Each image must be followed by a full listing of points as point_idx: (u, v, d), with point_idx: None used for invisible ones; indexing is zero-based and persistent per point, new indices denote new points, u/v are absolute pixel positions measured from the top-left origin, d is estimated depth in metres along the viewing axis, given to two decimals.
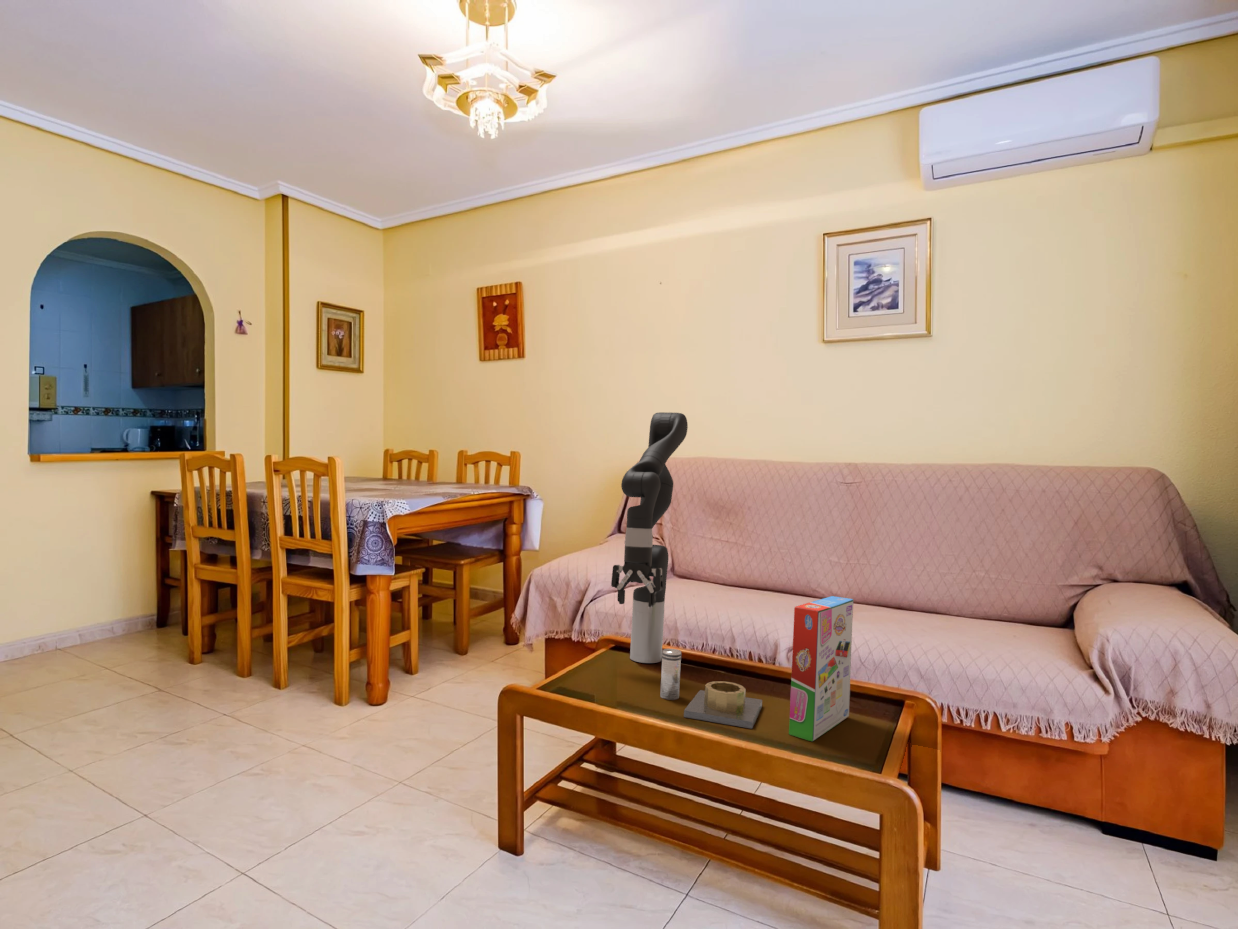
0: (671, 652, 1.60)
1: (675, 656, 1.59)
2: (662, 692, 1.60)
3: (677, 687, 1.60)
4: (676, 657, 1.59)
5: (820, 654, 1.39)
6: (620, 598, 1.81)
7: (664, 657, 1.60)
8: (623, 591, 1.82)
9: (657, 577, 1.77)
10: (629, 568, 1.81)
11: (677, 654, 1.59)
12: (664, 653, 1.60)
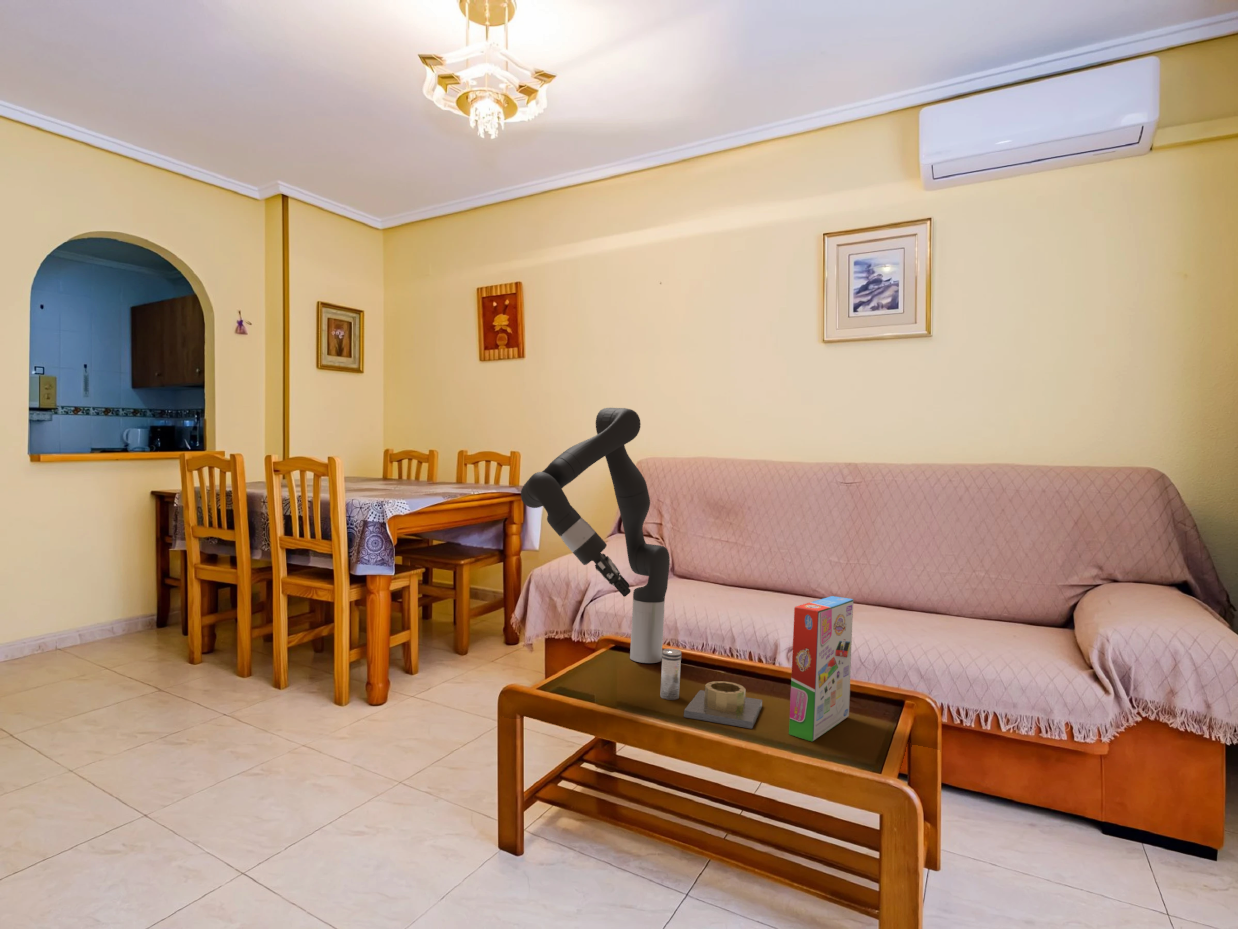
0: (671, 652, 1.60)
1: (675, 656, 1.59)
2: (662, 692, 1.60)
3: (677, 687, 1.60)
4: (676, 657, 1.59)
5: (820, 654, 1.39)
6: None
7: (664, 657, 1.60)
8: None
9: (601, 573, 1.55)
10: None
11: (677, 654, 1.59)
12: (664, 653, 1.60)
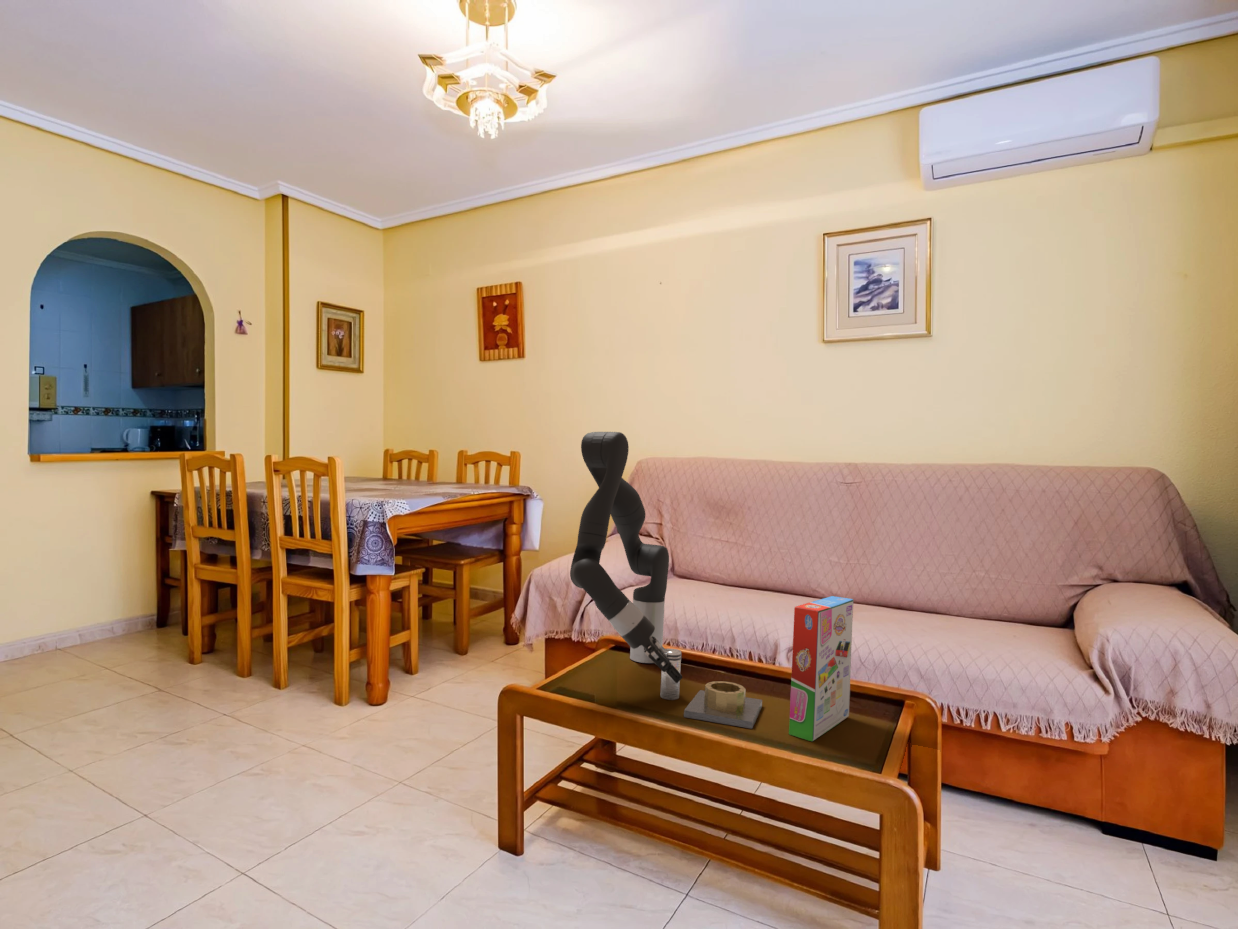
0: (671, 652, 1.60)
1: (675, 656, 1.59)
2: (662, 692, 1.60)
3: (677, 687, 1.60)
4: (676, 657, 1.59)
5: (820, 654, 1.39)
6: None
7: None
8: None
9: (654, 662, 1.56)
10: None
11: (677, 654, 1.59)
12: None
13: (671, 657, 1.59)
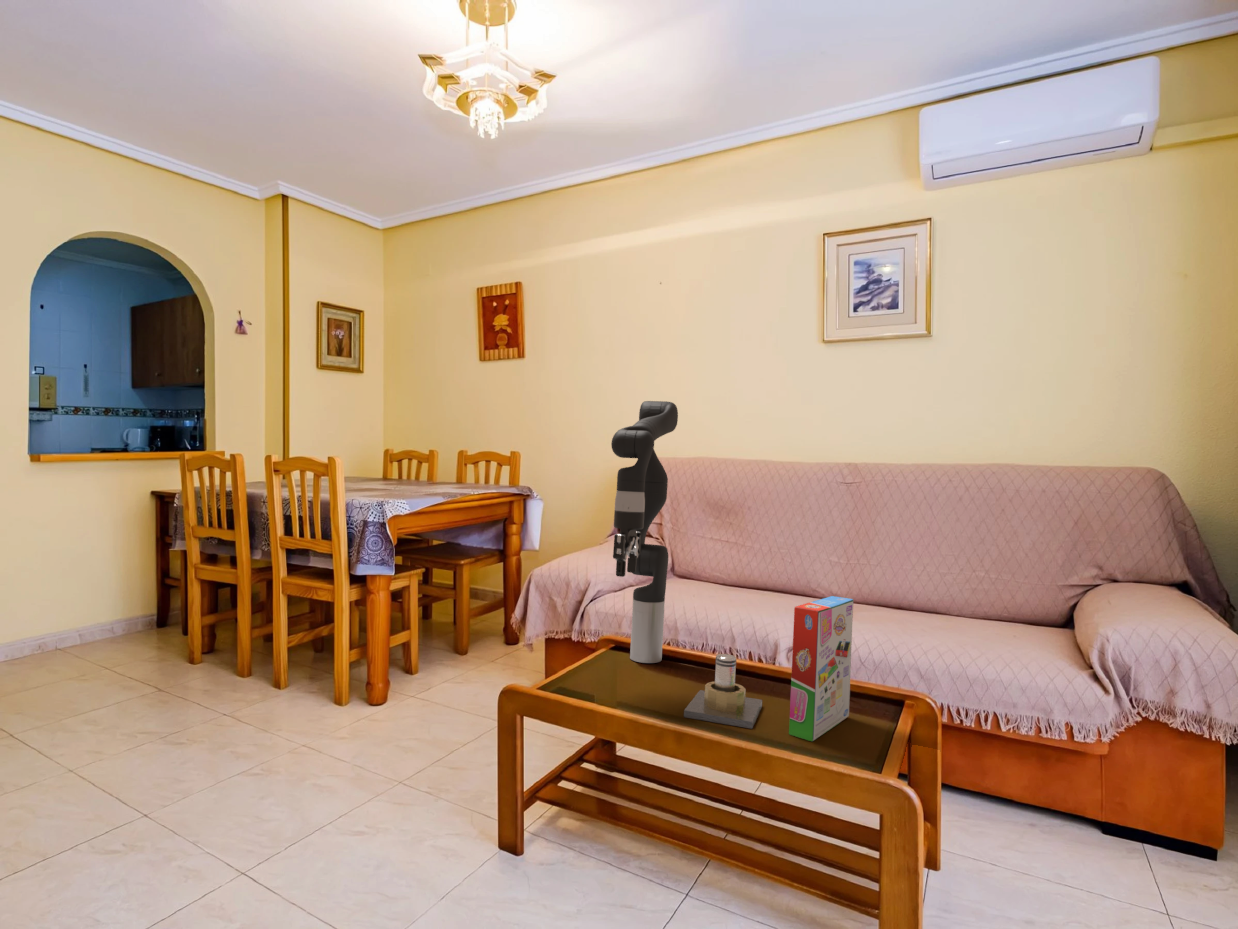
0: (726, 658, 1.51)
1: (730, 662, 1.51)
2: None
3: None
4: (731, 663, 1.51)
5: (820, 654, 1.39)
6: None
7: (718, 663, 1.51)
8: (631, 559, 1.71)
9: None
10: None
11: (732, 660, 1.51)
12: (718, 659, 1.51)
13: (726, 663, 1.50)
